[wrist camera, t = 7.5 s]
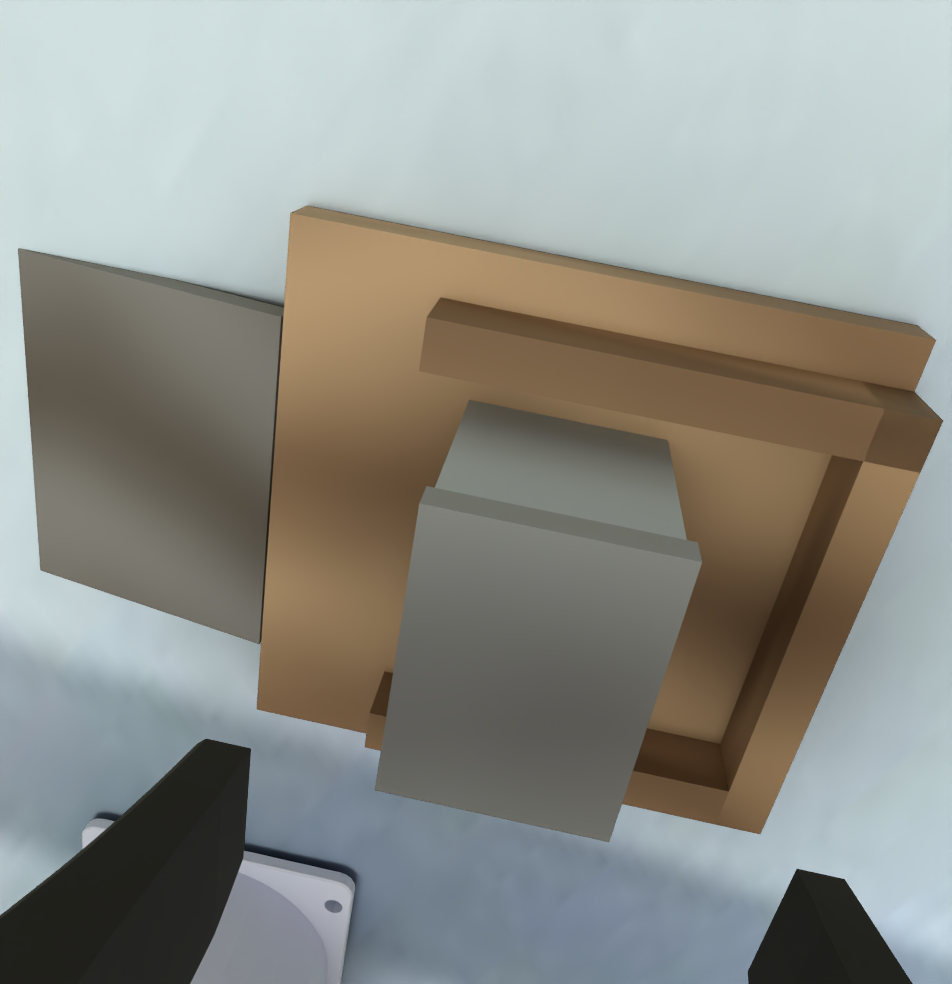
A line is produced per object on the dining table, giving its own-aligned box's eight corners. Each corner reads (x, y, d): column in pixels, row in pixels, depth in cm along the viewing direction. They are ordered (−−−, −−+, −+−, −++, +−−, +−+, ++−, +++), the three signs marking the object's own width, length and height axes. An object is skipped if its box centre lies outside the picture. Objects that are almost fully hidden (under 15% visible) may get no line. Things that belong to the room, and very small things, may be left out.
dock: (727, 767, 22) (746, 865, 20) (57, 621, 23) (-16, 696, 20) (908, 317, 17) (967, 365, 14) (27, 145, 18) (-77, 158, 15)
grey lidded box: (606, 667, 20) (608, 842, 15) (424, 628, 20) (375, 790, 15) (674, 434, 17) (702, 562, 13) (465, 391, 17) (419, 503, 13)
